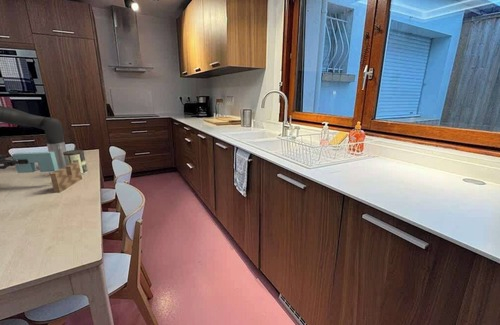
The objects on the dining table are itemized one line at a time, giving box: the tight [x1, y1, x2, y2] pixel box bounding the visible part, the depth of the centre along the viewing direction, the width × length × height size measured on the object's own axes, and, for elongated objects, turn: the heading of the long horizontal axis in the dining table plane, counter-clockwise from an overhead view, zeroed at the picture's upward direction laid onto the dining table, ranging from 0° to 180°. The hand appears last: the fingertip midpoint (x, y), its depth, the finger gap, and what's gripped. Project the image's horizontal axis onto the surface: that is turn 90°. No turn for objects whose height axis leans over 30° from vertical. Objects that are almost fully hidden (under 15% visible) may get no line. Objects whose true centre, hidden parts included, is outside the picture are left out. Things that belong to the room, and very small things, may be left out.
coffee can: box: [63, 149, 88, 176], centre depth 147 cm, size 10×10×14 cm
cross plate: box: [11, 151, 59, 174], centre depth 125 cm, size 3×18×10 cm, turn 96°
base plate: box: [49, 162, 83, 193], centre depth 128 cm, size 20×2×10 cm, turn 6°
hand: (30, 160), depth 124 cm, fingers closed on cross plate, 3 cm apart
